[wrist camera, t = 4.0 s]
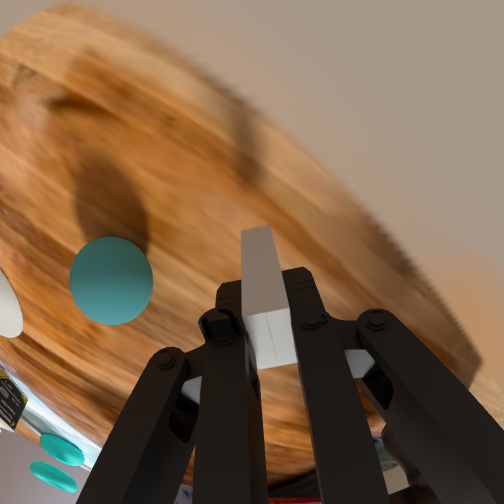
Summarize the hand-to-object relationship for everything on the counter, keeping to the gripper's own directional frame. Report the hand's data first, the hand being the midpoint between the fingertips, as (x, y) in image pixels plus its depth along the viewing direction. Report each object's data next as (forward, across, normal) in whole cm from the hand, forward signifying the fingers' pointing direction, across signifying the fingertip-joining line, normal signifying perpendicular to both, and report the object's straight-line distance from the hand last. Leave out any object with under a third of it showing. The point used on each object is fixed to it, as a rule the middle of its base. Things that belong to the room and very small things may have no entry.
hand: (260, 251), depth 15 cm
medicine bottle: (+4, +42, +15) cm, 45 cm away
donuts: (+3, +45, +35) cm, 58 cm away
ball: (+1, +9, 0) cm, 9 cm away
